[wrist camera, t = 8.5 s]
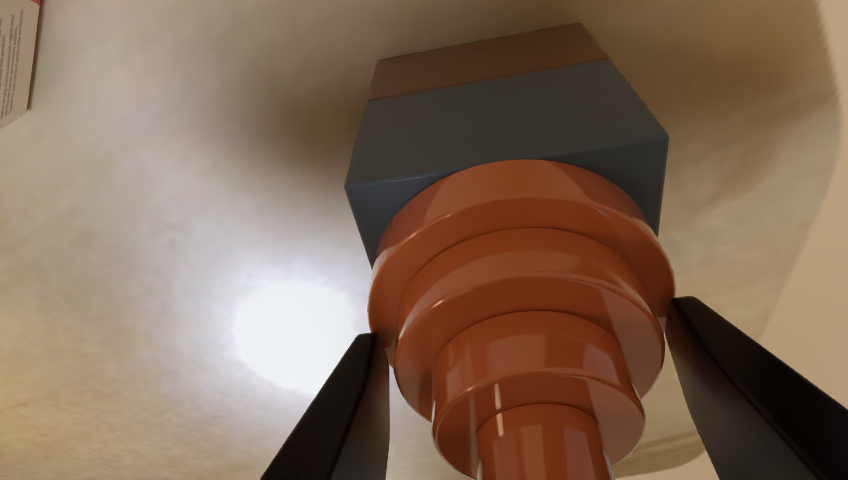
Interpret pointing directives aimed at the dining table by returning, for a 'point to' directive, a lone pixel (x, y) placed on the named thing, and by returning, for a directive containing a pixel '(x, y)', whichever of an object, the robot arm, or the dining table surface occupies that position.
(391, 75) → the base block
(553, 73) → the top block
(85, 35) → the dining table surface
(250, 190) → the dining table surface
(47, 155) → the dining table surface
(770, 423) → the robot arm
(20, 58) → the ink box
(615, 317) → the cone
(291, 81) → the dining table surface
